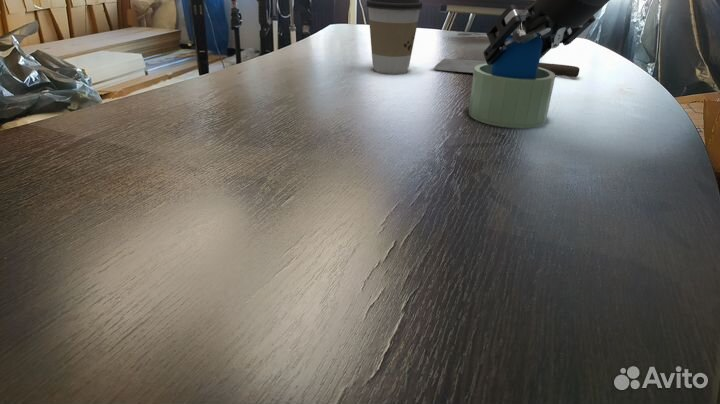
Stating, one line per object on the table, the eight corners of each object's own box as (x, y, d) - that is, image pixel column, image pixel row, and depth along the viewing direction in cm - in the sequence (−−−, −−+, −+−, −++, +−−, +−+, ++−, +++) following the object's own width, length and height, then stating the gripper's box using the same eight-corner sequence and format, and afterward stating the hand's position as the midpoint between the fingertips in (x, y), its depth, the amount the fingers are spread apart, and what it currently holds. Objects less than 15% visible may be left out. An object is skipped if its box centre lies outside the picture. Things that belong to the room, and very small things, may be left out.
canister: (499, 102, 85) (506, 60, 81) (560, 119, 77) (570, 74, 73) (452, 112, 78) (458, 67, 75) (514, 133, 70) (523, 83, 67)
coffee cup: (410, 78, 98) (417, -4, 91) (356, 73, 101) (358, -7, 94) (423, 67, 107) (429, -8, 101) (372, 62, 111) (375, -11, 104)
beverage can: (527, 122, 73) (543, 37, 68) (483, 116, 75) (495, 33, 70) (530, 110, 79) (545, 31, 73) (488, 105, 81) (500, 27, 75)
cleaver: (576, 73, 106) (578, 63, 105) (581, 84, 98) (584, 73, 97) (438, 63, 113) (439, 54, 112) (432, 72, 105) (433, 62, 104)
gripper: (618, -45, 64) (538, 35, 78) (529, -49, 58) (461, 38, 73) (641, 4, 62) (555, 77, 76) (552, 5, 56) (477, 83, 71)
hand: (509, 58), depth 75 cm, fingers open, 7 cm apart
